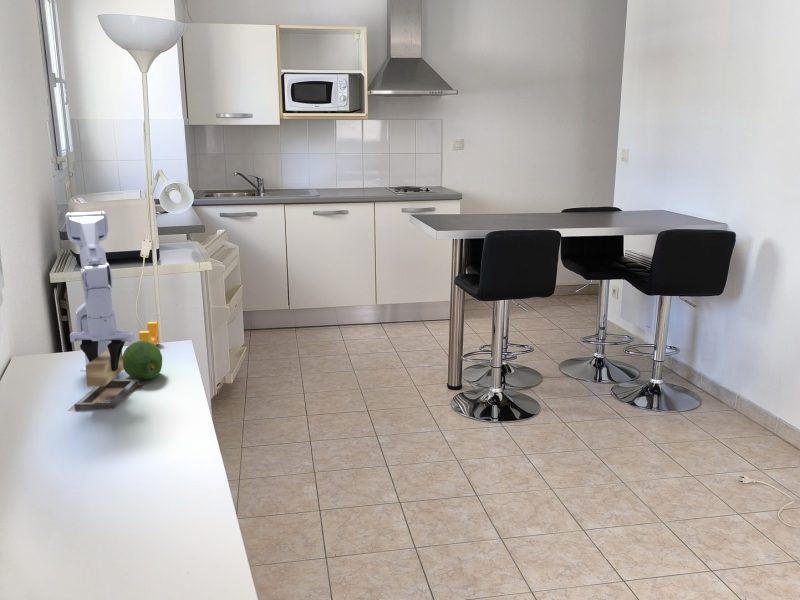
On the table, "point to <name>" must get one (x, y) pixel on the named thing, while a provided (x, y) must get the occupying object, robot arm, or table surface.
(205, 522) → the table surface
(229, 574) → the table surface
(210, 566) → the table surface
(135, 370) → the fruit
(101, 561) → the table surface
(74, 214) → the robot arm
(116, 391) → the channel
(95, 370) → the wooden block
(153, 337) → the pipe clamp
